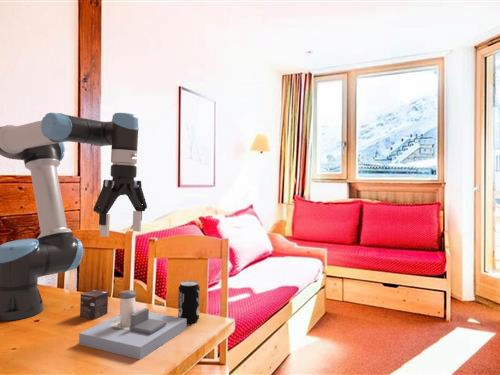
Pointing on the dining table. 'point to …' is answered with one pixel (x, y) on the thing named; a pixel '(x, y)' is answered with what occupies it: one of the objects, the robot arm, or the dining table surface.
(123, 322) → the plug
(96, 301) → the box
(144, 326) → the grey l-shaped block
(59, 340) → the dining table surface
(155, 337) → the socket board
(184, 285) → the beverage can
